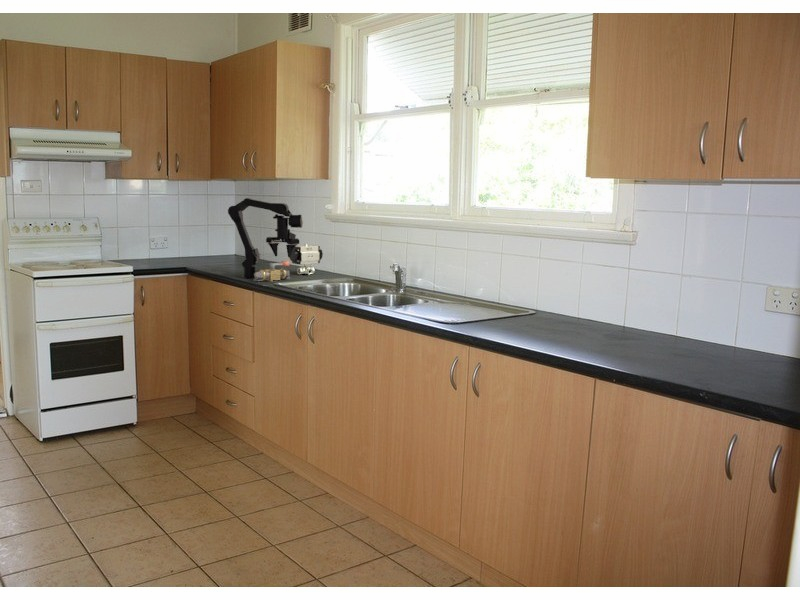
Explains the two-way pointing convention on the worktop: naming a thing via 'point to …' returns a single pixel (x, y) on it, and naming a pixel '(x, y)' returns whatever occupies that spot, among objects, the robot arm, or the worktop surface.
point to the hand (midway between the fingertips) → (282, 256)
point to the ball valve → (306, 257)
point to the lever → (283, 263)
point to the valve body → (271, 274)
